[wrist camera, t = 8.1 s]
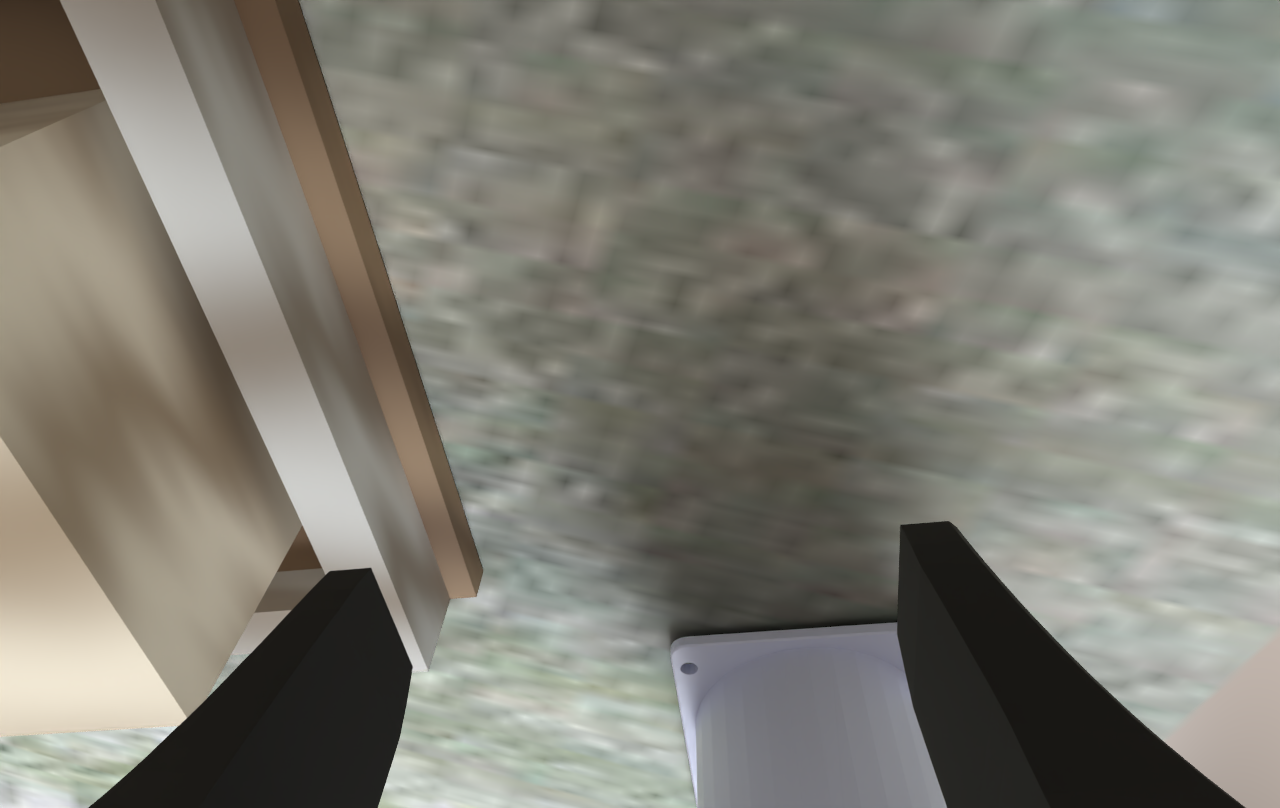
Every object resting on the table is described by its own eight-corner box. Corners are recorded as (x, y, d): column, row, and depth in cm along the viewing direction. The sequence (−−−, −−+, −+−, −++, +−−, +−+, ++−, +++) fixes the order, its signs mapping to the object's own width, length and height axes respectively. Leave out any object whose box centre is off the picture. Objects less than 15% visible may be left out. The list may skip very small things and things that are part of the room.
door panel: (322, 488, 22) (192, 725, 16) (176, 501, 22) (-5, 736, 16) (146, 81, 16) (-149, 212, 10) (-42, 109, 17) (-428, 250, 11)
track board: (483, 571, 24) (456, 669, 22) (158, 596, 26) (92, 693, 23) (238, -182, 15) (130, -189, 12) (-266, -91, 16) (-480, -79, 13)
